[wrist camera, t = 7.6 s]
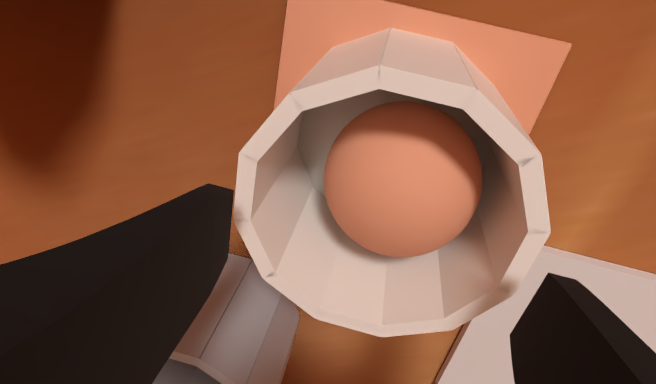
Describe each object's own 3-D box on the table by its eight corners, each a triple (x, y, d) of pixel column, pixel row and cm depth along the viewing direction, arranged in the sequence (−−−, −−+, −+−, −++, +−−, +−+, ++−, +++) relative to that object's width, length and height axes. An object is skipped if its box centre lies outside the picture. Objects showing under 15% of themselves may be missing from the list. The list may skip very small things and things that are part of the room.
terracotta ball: (433, 209, 17) (473, 298, 13) (313, 195, 17) (314, 283, 12) (473, 92, 15) (539, 154, 10) (333, 71, 14) (343, 128, 10)
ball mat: (618, 432, 22) (622, 441, 21) (434, 380, 22) (435, 388, 22) (751, 299, 17) (760, 308, 16) (509, 236, 17) (512, 243, 17)
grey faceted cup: (286, 374, 24) (253, 483, 19) (160, 337, 25) (94, 435, 20) (308, 274, 20) (274, 380, 15) (157, 233, 21) (73, 322, 16)
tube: (466, 260, 18) (489, 384, 13) (262, 206, 19) (203, 304, 13) (569, 42, 14) (674, 95, 8) (292, -21, 14) (218, -11, 9)
